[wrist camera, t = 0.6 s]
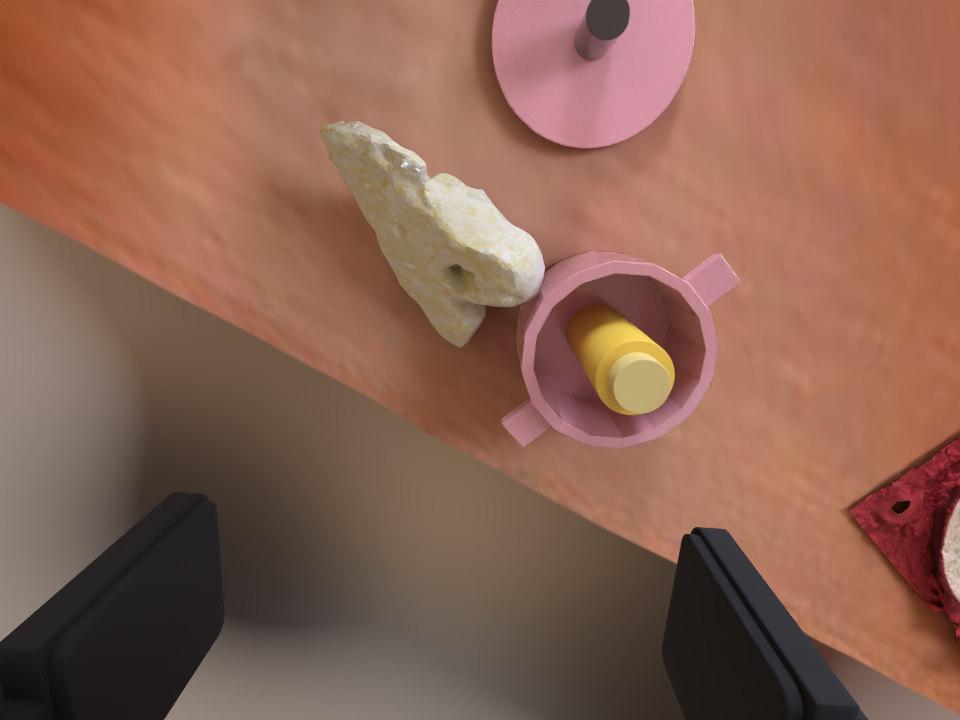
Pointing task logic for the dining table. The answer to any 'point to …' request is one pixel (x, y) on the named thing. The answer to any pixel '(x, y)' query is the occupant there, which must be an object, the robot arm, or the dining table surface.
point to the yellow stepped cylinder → (620, 360)
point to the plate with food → (922, 529)
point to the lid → (591, 64)
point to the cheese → (435, 232)
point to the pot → (646, 304)
